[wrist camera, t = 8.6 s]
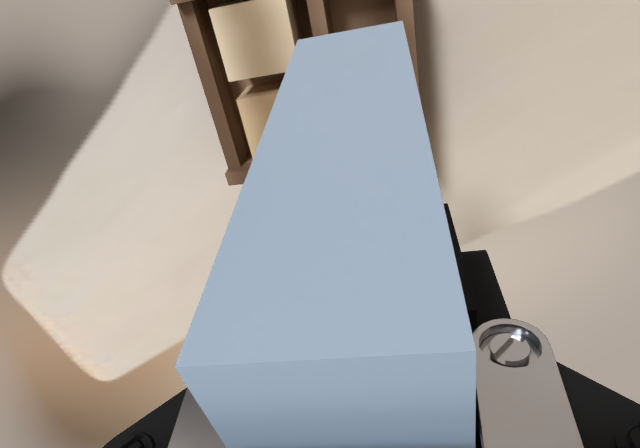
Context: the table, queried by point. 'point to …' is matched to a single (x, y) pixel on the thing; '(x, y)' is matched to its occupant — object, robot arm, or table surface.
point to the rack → (315, 20)
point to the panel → (338, 270)
